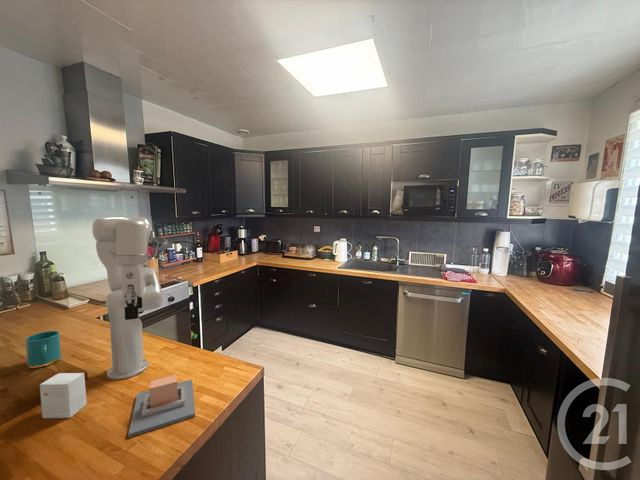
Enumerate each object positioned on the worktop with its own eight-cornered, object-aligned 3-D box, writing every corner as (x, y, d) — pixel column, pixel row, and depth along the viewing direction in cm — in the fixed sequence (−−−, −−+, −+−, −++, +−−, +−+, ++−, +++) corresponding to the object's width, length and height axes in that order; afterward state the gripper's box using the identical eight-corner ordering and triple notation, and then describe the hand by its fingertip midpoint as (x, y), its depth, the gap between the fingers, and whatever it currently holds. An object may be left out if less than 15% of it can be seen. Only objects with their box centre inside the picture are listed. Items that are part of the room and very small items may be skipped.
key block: (177, 395, 83) (176, 374, 82) (177, 402, 79) (177, 381, 79) (151, 402, 79) (151, 381, 79) (150, 410, 76) (149, 388, 75)
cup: (27, 376, 92) (25, 346, 91) (27, 363, 100) (25, 335, 99) (62, 365, 99) (60, 337, 98) (60, 354, 107) (58, 328, 106)
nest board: (137, 396, 83) (137, 388, 83) (192, 381, 91) (192, 375, 91) (128, 437, 67) (127, 429, 67) (195, 416, 75) (194, 408, 75)
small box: (87, 404, 79) (85, 372, 78) (70, 418, 73) (68, 384, 73) (60, 404, 79) (58, 372, 78) (41, 418, 73) (39, 384, 72)
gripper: (143, 263, 73) (145, 321, 74) (149, 255, 88) (150, 303, 89) (110, 265, 69) (113, 326, 71) (122, 256, 84) (124, 306, 86)
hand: (134, 313), depth 80 cm, fingers open, 9 cm apart
